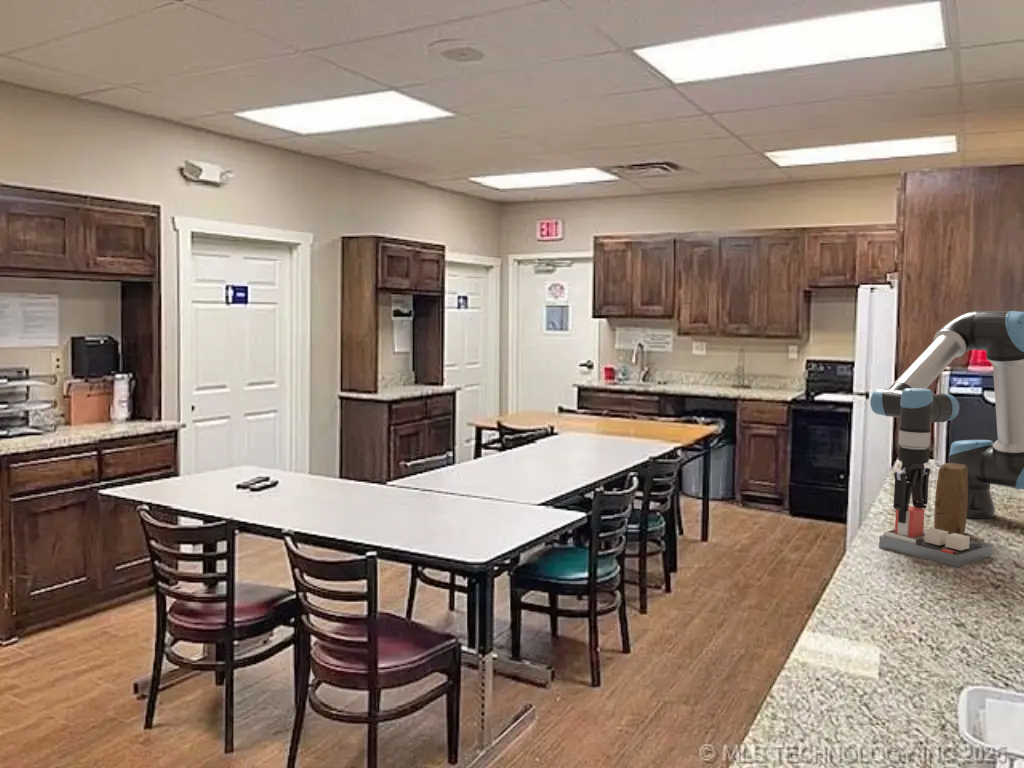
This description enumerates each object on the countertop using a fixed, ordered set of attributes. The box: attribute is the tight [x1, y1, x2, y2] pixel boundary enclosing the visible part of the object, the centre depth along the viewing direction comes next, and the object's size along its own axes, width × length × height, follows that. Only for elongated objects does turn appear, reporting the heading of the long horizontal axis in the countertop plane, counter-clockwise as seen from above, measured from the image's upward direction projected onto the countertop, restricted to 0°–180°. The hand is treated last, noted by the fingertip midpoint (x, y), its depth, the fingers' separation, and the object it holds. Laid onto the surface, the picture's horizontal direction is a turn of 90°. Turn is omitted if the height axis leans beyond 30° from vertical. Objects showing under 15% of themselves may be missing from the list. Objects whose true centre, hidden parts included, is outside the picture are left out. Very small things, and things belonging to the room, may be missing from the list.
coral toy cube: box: [894, 505, 925, 537], centre depth 226 cm, size 5×5×7 cm
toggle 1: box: [924, 527, 948, 545], centre depth 220 cm, size 4×4×3 cm
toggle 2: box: [945, 533, 971, 550], centre depth 216 cm, size 4×4×3 cm
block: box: [933, 462, 968, 535], centre depth 242 cm, size 11×8×20 cm
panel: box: [878, 528, 993, 568], centre depth 224 cm, size 17×21×4 cm
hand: (909, 532), depth 227 cm, fingers closed on coral toy cube, 5 cm apart
